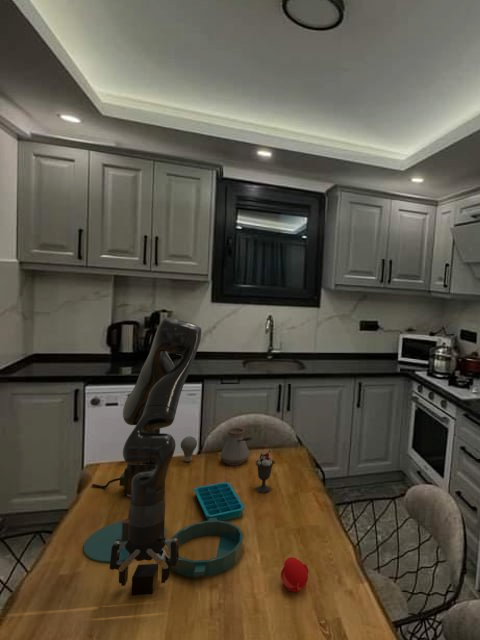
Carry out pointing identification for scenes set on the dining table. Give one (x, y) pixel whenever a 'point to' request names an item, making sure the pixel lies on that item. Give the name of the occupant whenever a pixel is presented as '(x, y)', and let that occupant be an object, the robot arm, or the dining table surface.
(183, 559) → the teal tabbed round part
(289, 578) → the red rounded oval piece
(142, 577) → the block
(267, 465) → the sundae
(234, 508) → the ice cube tray
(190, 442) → the light bulb
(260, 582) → the dining table surface
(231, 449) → the coffee pot
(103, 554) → the lid
